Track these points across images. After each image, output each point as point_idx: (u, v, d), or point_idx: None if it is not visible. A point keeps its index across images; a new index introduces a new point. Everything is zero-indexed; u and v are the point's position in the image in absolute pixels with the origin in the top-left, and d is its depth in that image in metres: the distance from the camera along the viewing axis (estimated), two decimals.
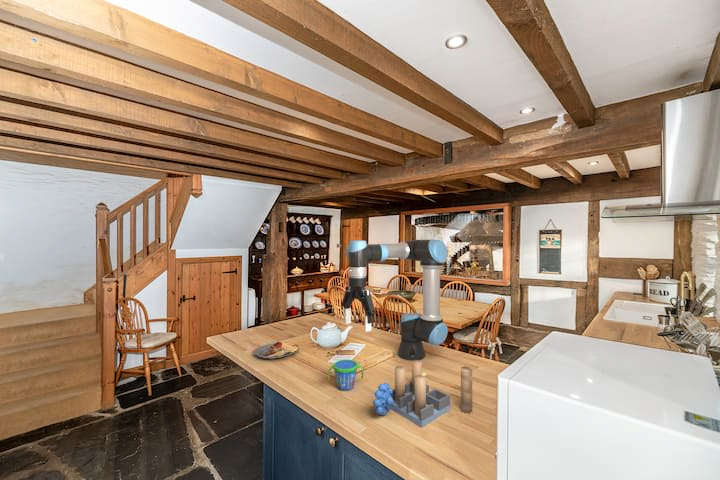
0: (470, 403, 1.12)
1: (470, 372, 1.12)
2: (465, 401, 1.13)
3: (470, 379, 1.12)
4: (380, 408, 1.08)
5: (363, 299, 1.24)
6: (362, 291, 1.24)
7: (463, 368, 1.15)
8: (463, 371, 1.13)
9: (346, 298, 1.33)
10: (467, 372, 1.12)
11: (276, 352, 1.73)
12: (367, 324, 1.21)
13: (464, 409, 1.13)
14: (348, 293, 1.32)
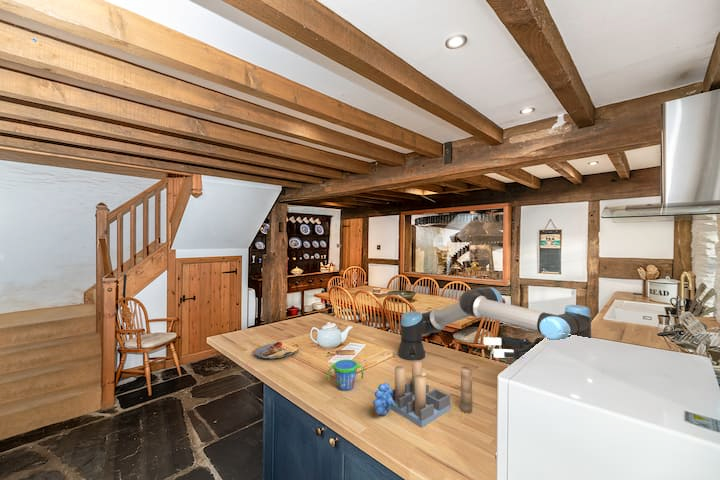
0: (470, 403, 1.12)
1: (470, 372, 1.12)
2: (465, 401, 1.13)
3: (470, 379, 1.12)
4: (380, 408, 1.08)
5: None
6: None
7: (463, 368, 1.15)
8: (463, 371, 1.13)
9: None
10: (467, 372, 1.12)
11: (276, 352, 1.73)
12: None
13: (464, 409, 1.13)
14: None
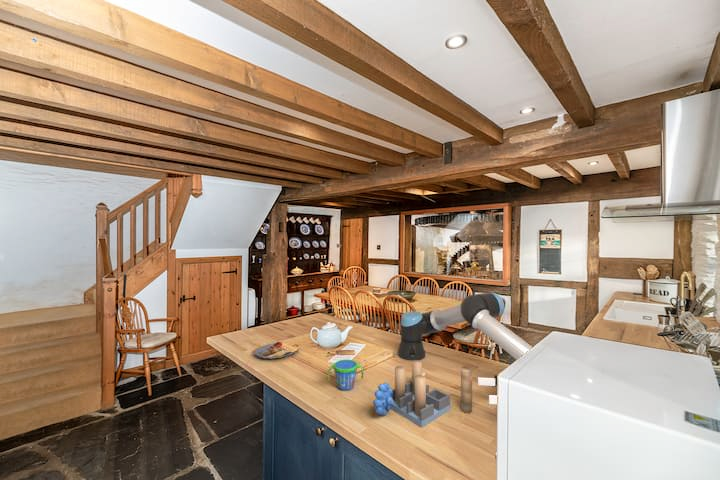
0: (470, 403, 1.12)
1: (470, 372, 1.12)
2: (465, 401, 1.13)
3: (470, 379, 1.12)
4: (380, 408, 1.08)
5: None
6: None
7: (463, 368, 1.15)
8: (463, 371, 1.13)
9: None
10: (467, 372, 1.12)
11: (276, 352, 1.73)
12: None
13: (464, 409, 1.13)
14: None
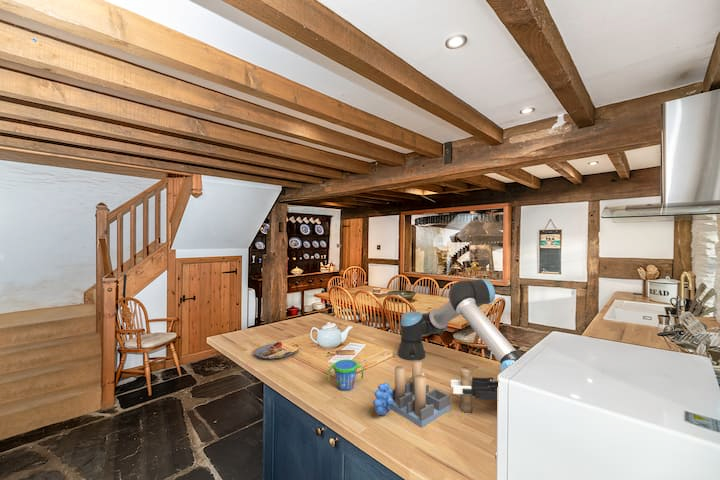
0: (470, 403, 1.12)
1: (470, 372, 1.12)
2: (465, 401, 1.13)
3: (470, 379, 1.12)
4: (380, 408, 1.08)
5: None
6: None
7: (463, 368, 1.15)
8: (463, 371, 1.13)
9: None
10: (467, 372, 1.12)
11: (276, 352, 1.73)
12: None
13: (464, 409, 1.13)
14: None
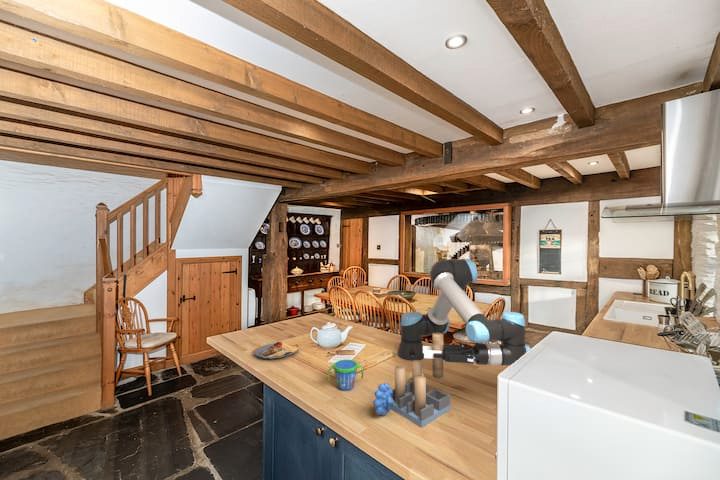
0: (441, 367, 1.14)
1: (441, 337, 1.13)
2: (436, 366, 1.14)
3: (441, 344, 1.13)
4: (380, 408, 1.08)
5: None
6: None
7: (434, 333, 1.16)
8: (434, 336, 1.14)
9: None
10: (438, 336, 1.13)
11: (276, 352, 1.73)
12: None
13: (435, 374, 1.14)
14: None
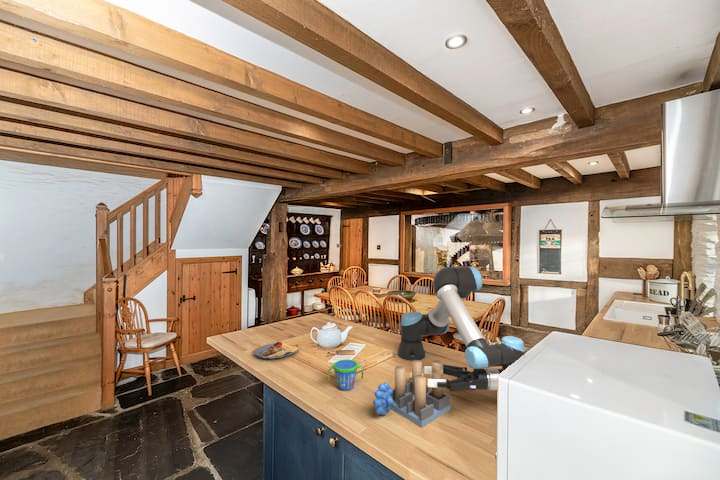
0: (440, 396, 1.13)
1: (441, 366, 1.13)
2: (435, 395, 1.14)
3: (441, 373, 1.13)
4: (380, 408, 1.08)
5: None
6: None
7: (434, 361, 1.16)
8: (434, 365, 1.14)
9: None
10: (438, 365, 1.13)
11: (276, 352, 1.73)
12: None
13: None
14: None
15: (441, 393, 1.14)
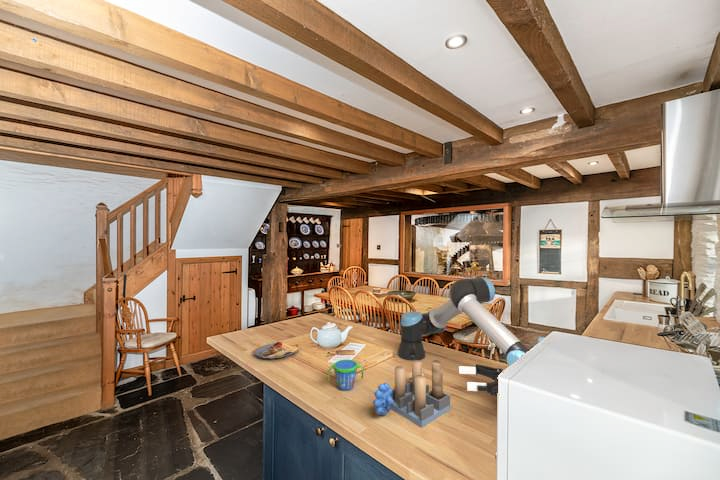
0: (440, 396, 1.14)
1: (440, 365, 1.14)
2: (435, 394, 1.14)
3: (440, 372, 1.14)
4: (380, 408, 1.08)
5: None
6: None
7: (434, 361, 1.16)
8: (433, 364, 1.14)
9: None
10: (437, 365, 1.13)
11: (276, 352, 1.73)
12: None
13: None
14: None
15: (441, 393, 1.14)
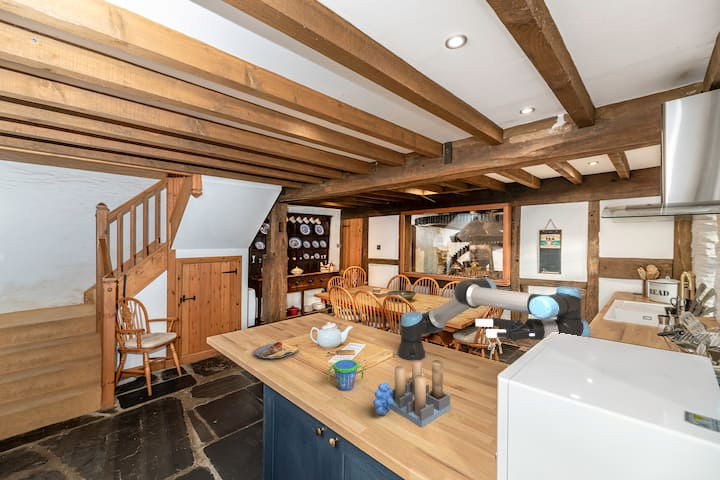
0: (440, 396, 1.14)
1: (440, 365, 1.14)
2: (435, 394, 1.14)
3: (440, 372, 1.14)
4: (380, 408, 1.08)
5: None
6: None
7: (434, 361, 1.16)
8: (434, 364, 1.14)
9: None
10: (438, 365, 1.13)
11: (276, 352, 1.73)
12: None
13: None
14: None
15: (441, 393, 1.14)
